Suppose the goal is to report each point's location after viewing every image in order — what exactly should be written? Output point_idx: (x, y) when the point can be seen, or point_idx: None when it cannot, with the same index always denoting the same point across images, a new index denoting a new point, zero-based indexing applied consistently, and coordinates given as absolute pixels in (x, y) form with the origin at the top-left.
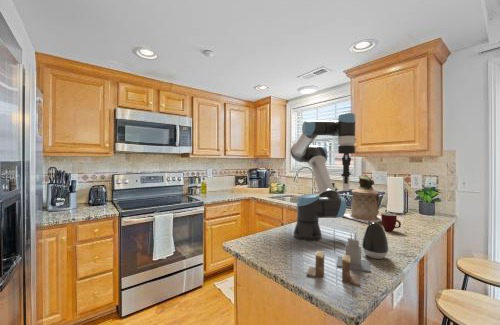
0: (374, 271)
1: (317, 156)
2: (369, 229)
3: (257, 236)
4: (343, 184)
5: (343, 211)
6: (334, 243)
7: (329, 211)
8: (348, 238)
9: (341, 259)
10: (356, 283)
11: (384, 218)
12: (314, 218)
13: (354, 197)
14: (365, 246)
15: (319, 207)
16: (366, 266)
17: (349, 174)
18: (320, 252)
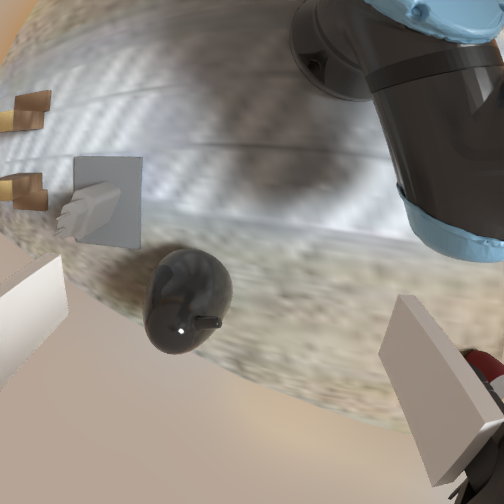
0: (89, 251)
1: None
2: (151, 301)
3: None
4: (4, 288)
5: (409, 222)
6: (295, 149)
7: (382, 127)
8: (70, 204)
9: (118, 168)
10: (13, 202)
11: (485, 373)
12: (337, 42)
13: None
14: (164, 258)
15: (366, 53)
16: (97, 236)
17: (456, 489)
18: (4, 121)
